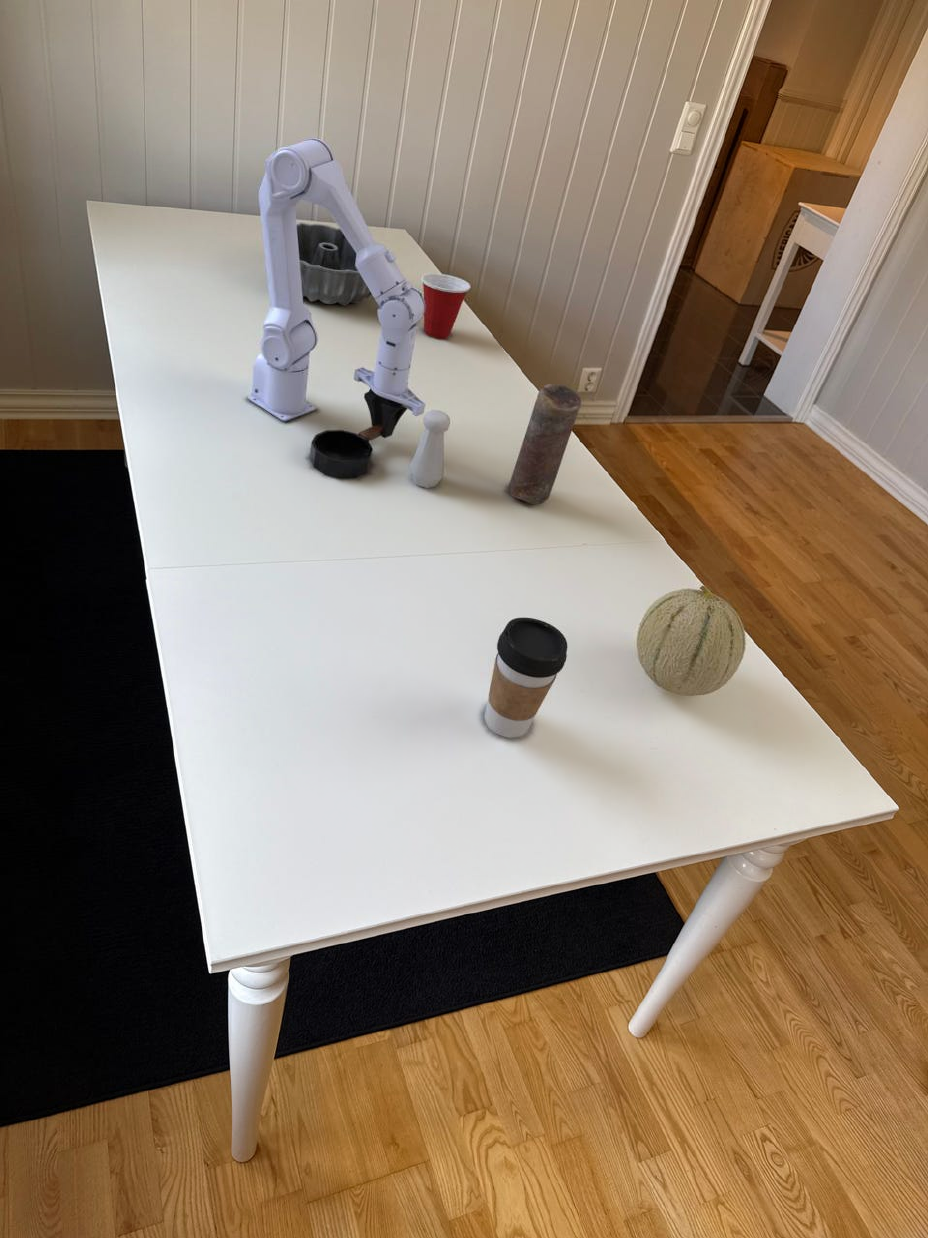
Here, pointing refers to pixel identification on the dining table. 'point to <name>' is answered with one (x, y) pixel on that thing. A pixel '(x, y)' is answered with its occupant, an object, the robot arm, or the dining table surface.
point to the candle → (544, 443)
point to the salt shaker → (430, 450)
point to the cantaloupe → (691, 642)
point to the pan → (343, 452)
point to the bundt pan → (328, 266)
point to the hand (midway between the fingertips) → (382, 433)
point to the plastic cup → (442, 303)
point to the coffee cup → (523, 674)
